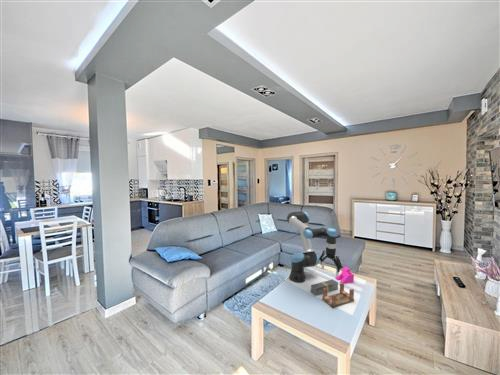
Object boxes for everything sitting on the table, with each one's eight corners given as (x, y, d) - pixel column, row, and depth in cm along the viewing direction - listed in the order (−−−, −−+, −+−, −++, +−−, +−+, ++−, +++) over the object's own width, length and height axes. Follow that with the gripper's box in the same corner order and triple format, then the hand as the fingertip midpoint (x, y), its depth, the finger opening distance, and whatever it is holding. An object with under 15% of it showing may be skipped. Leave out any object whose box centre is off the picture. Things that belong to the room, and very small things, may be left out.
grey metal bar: (315, 295, 172) (315, 288, 171) (310, 291, 178) (310, 284, 177) (337, 289, 181) (338, 282, 181) (332, 285, 187) (332, 279, 187)
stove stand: (322, 299, 166) (322, 288, 166) (342, 293, 175) (343, 282, 174) (332, 308, 156) (332, 296, 156) (354, 301, 165) (354, 289, 164)
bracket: (346, 277, 202) (346, 266, 202) (353, 282, 193) (354, 271, 192) (335, 278, 200) (335, 268, 199) (342, 284, 190) (342, 273, 189)
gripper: (315, 243, 180) (314, 267, 182) (342, 253, 160) (341, 280, 162) (320, 242, 185) (319, 265, 187) (347, 251, 164) (346, 277, 166)
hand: (329, 272), depth 174 cm, fingers open, 13 cm apart
